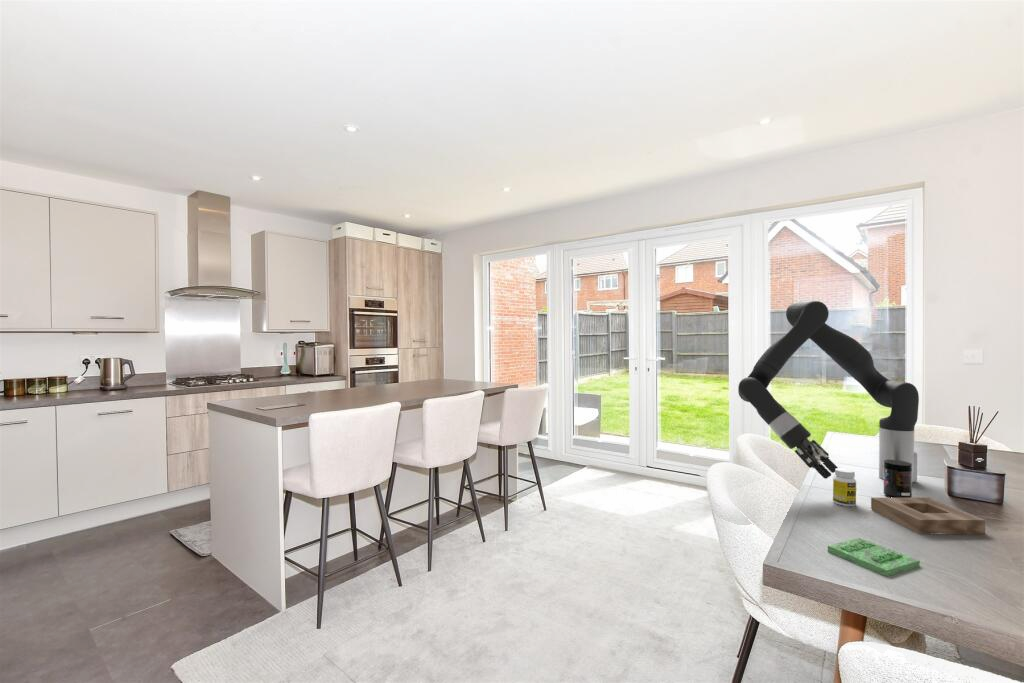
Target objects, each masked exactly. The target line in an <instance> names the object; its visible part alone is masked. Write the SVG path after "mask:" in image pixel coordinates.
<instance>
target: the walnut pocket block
mask: <svg viewBox="0 0 1024 683" xmlns="http://www.w3.org/2000/svg"><path fill="white" fill-rule="evenodd" d="M871 509H872V510H873V512H874V511H875V512H874V513H876V512H877V513H876V514H878V513H879V515H880V514H881V515H880V516H882V515H883V517H884V516H885V517H884V518H886V517H887V518H886V519H888V518H889V519H888V520H890V519H891V520H890V521H892V520H893V522H894V521H895V523H896V522H897V524H898V523H899V524H898V525H900V526H902V527H904V526H905V527H904V528H907V529H909V530H911V531H912V530H913V531H912V532H915V533H917V534H918V535H935V534H934V533H945V534H944V535H986V519H984V518H982V517H979V516H976V515H974V514H971V513H969V512H966V511H964V510H961V509H958V508H956V507H953V506H951V505H949V504H946V503H944V502H941V501H938V500H936V499H934V498H931V497H911V498H890V497H870V510H871ZM872 510H871V511H872ZM931 533H933V534H931Z"/></svg>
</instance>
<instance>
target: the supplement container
mask: <svg viewBox="0 0 1024 683" xmlns="http://www.w3.org/2000/svg"><path fill="white" fill-rule="evenodd" d="M912 484H913V483H912V464H911V463H909V462H905V461H900V460H884V479H883V494H884V496H886V497H888V496H889V497H888V498H890V497H892V498H913V490H912V489H913V485H912Z"/></svg>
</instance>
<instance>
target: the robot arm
mask: <svg viewBox="0 0 1024 683" xmlns="http://www.w3.org/2000/svg"><path fill="white" fill-rule="evenodd" d="M785 317H786V319H787V322H788V323H789V324H790V325H791V326H792V327H791V328H790V330H789V331H788V332H786V334H785V335H783V336H782V337H781V338H779V339H778V340H777V341H775V342H774V343H773V344H772V345H770V346H769V347H768V348H767V349H766V350H765V351H764V352H763V354H762V355H761V356H760V357H759V359H758V360H757V362H756V363H755V365H754V366H753V368H752V371H751V372H750V373H749V375H748V376H747V377H744V378H742V379H741V380H740V381H739V383H738V390H737V391H738V396H739V397H740V399H741V400H742V401H743V402H746V403H750V404H751V406H753V407H754V409H755V410H756V413H757V414H758V415H759V416H760V418H761V419H762V420H763V421H764V422H765V423H766V424H767V425H768V426H769V427H770V429H771V430H772V431H773V432H774V434H775V435H776V436H778V438H779V439H780V440H781V442H783V443H784V444H785V446H787V447H788V448H789V449H790V450H792V449H794V448H796V449H795V450H794V453H795V454H796V455H797V456H798V457H799V458H800V459H801V460H802V461H803V463H804V464H805V465H807V467H808V468H810V469H814V470H816V471H817V473H819V475H820V476H821V477H822V478H823V479H824V480H827V479H828V478H830V477H831V476H832V473H834V474H835V469H836V468H839V467H838V466H837V465H836V464H835V462H833V461H832V460H831V459H830V454H829V452H827V451H826V450H825V449H824V448H823V447H822V446H821V445H820V444H819V443H818V442H816V440H815V439H812V440H810V439H809V438H810V437H811V436H812V434H811V433H810V431H809V430H808V429H807V428H806V427H805V426H804V425H803V424H802V423H800V421H799V420H798V419H797V418H796V417H795V416H794V415H792V413H790V412H788V411H787V410H786V409H785V407H783V406H782V404H780V403H779V402H778V401H777V399H775V398H774V397H773V395H772V393H771V392H770V391H769V390H768V387H769V385H770V384H771V382H772V380H773V379H775V377H776V376H777V375H778V374H779V372H780V371H781V370H782V368H783V367H784V366H785V365H786V363H787V362H788V361H789V359H790V358H791V357H792V356H793V355H794V354H795V353H796V352H797V351H798V350H799V349H800V348H801V347H802V345H804V344H805V343H806V342H807V341H808V340H809V339H810V340H811V341H812V342H813V343H814V344H815V345H816V346H817V347H819V348H820V349H821V350H822V351H823V352H824V353H825V354H826V355H827V356H829V357H830V358H831V359H832V361H834V362H835V363H836V364H837V365H838V366H839V367H840V368H841V369H843V370H844V371H845V372H846V373H848V374H849V375H850V376H851V377H852V378H853V379H854V380H855V381H857V382H858V383H859V384H860V385H861V387H863V389H864V390H865V391H866V392H867V393H868V394H869V395H870V396H871V397H872V399H873V400H874V401H875V402H876V403H877V404H879V405H880V406H882V407H886V408H891V409H890V415H888V416H886V417H883V418H880V419H879V422H878V423H879V424H878V425H879V427H878V429H879V430H878V431H879V434H878V435H879V438H878V439H879V440H878V441H879V442H878V443H879V444H878V446H879V448H878V449H879V450H878V477H879V478H880V479H882V480H884V460H900V461H905V462H909V463H911V464H912V484H913V483H917V482H918V453H917V452H915V426H916V424H917V423H918V416H919V404H920V397H919V395H920V394H919V391H918V389H917V387H916V386H915V385H914V384H912V383H910V382H906V381H896V380H890V379H888V378H887V377H885V375H883V374H881V373H880V371H878V370H877V369H876V367H875V365H874V364H875V363H874V359H873V356H872V354H871V352H869V350H868V349H867V348H865V347H864V346H863V345H862V344H861V343H860V342H858V341H857V340H856V339H855V338H853V337H851V336H849V335H848V334H846V333H844V332H842V331H839V330H837V329H836V328H833V327H832V326H830V325H828V324H827V323H826V322H827V321H828V319H829V308H828V306H827V305H826V304H825V303H824V302H822V301H820V300H804V301H802V300H801V301H796V302H792V303H791V304H790V305H788V307H787V309H786V311H785Z"/></svg>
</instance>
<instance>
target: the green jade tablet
mask: <svg viewBox="0 0 1024 683" xmlns="http://www.w3.org/2000/svg"><path fill="white" fill-rule="evenodd" d="M827 552H828V553H830V554H833V555H835V556H837V557H840V558H842V559H843V560H846V561H848V562H850V563H853V564H856V565H858V566H861V567H862V568H865V569H868V570H871V571H872V572H874V573H878V574H879V575H881V576H884V577H886V578H887V577H889V576H892V575H896V574H899V573H903V572H906V571H909V570H911V569H916V568H918V567H920V564H921V563H920V560H919V559H917V558H914V557H911V556H909V555H905V554H903V553H902V552H898V551H895V550H893V549H891V548H887V547H885V546H882V545H879V544H876V543H875V542H871V541H869V540H866V539H863V538H861V537H858V538H855V539H851V540H847V541H841V542H838V543H833V544H830V545H827Z"/></svg>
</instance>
